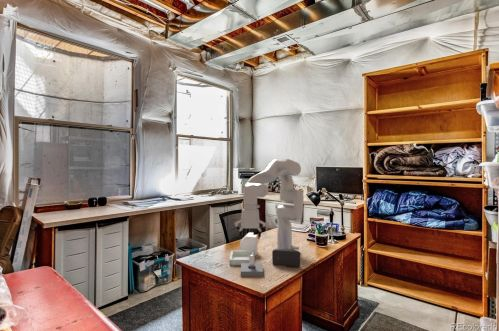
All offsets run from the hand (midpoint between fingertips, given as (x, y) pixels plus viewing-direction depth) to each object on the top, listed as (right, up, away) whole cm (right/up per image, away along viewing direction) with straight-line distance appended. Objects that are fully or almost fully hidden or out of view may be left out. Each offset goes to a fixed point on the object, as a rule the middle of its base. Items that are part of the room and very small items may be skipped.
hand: (250, 238), depth 153 cm
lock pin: (+1, -19, 0) cm, 19 cm away
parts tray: (-5, -19, +17) cm, 26 cm away
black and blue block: (+21, -19, +9) cm, 30 cm away
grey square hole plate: (+1, -19, 0) cm, 19 cm away
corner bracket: (-1, -18, +33) cm, 38 cm away
